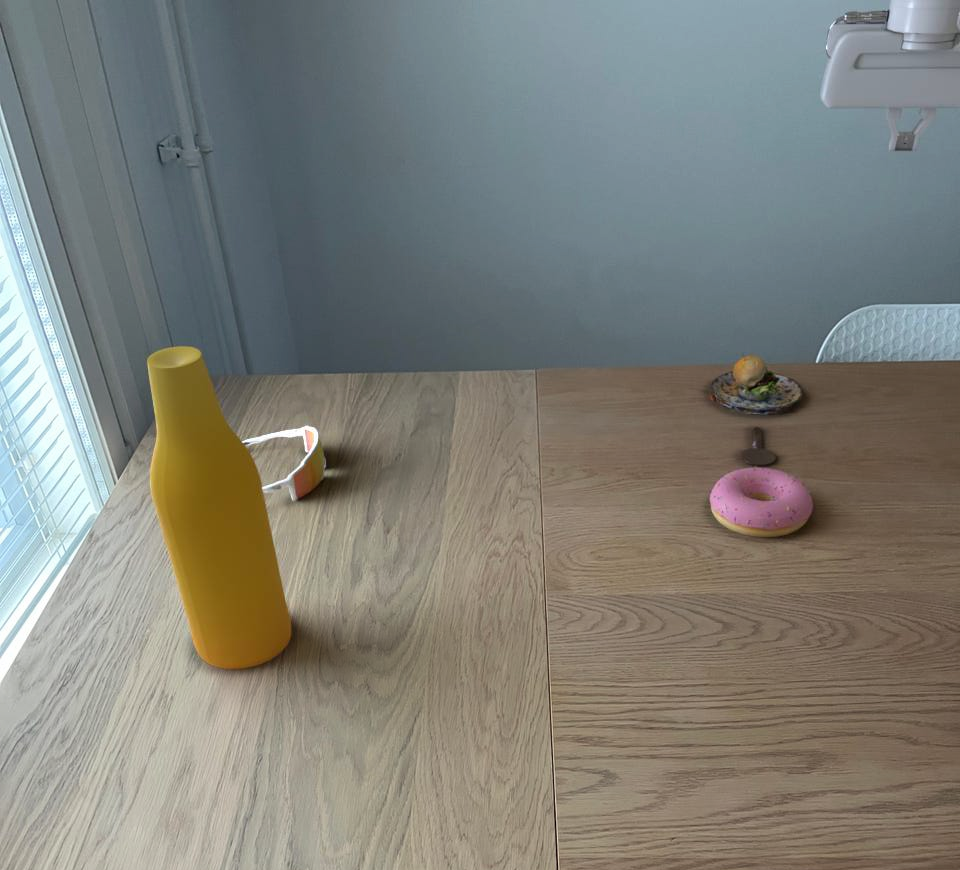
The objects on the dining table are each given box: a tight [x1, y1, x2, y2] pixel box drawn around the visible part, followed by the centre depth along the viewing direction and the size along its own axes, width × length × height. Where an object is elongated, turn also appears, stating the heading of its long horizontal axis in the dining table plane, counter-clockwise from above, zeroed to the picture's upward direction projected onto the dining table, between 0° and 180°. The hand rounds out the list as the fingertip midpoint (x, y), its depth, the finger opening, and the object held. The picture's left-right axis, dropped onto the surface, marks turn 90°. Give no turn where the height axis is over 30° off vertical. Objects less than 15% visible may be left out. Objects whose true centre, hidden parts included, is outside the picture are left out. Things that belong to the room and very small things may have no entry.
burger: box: [709, 348, 804, 416], centre depth 128 cm, size 12×12×8 cm
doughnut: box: [709, 466, 814, 538], centre depth 107 cm, size 11×11×4 cm
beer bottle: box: [146, 345, 292, 670], centre depth 85 cm, size 9×9×29 cm
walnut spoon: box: [740, 426, 777, 468], centre depth 119 cm, size 4×10×1 cm, turn 169°
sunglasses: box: [242, 425, 327, 502], centre depth 118 cm, size 14×15×5 cm
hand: (902, 150), depth 114 cm, fingers closed
